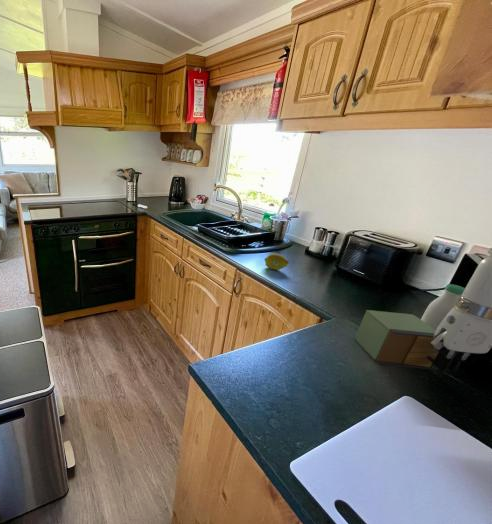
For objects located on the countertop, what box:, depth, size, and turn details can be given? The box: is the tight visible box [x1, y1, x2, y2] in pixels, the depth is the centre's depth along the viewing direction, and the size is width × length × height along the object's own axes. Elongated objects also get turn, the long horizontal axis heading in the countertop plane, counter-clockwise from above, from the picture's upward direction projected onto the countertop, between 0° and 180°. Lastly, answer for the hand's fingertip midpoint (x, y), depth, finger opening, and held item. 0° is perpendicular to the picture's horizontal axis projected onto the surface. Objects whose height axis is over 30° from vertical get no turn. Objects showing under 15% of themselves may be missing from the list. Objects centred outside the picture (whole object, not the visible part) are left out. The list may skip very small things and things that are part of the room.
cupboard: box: [354, 309, 436, 370], centre depth 86 cm, size 12×14×11 cm
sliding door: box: [403, 336, 457, 375], centre depth 78 cm, size 6×7×10 cm
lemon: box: [264, 253, 290, 271], centre depth 143 cm, size 11×8×8 cm
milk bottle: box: [420, 283, 466, 330], centre depth 92 cm, size 8×8×20 cm
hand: (443, 367), depth 76 cm, fingers closed
